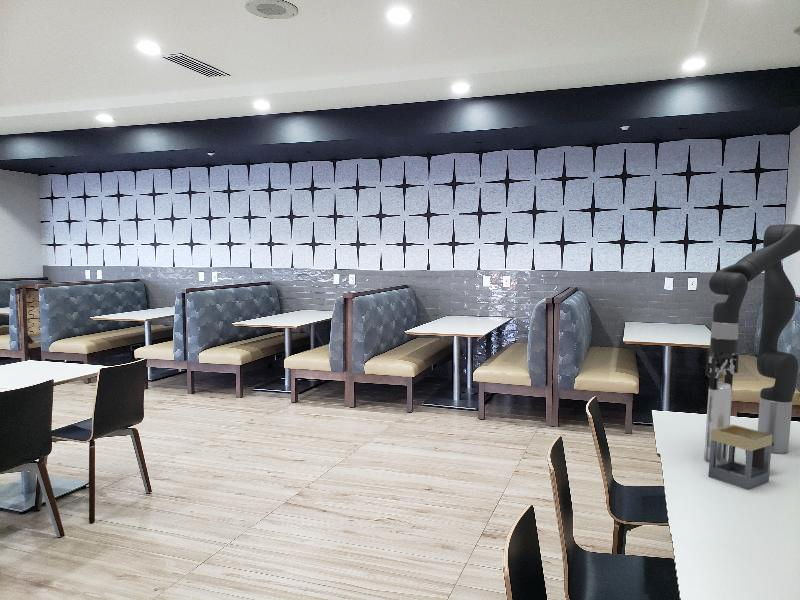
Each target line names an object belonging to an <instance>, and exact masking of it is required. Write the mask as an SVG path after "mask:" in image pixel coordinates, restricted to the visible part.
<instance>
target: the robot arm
mask: <svg viewBox="0 0 800 600" xmlns="http://www.w3.org/2000/svg"><path fill="white" fill-rule="evenodd" d="M762 241H763V243H762V244H763V246H762V248H760V249H756V250H754V251H751V252H750V253H748V254H745V256H743V257H742V258H740V260H738V261H737V262H735V263H733V264H731V265H728V266H726V267H724V268H722V269H720V270H719V269H718V270H717V271H716V272H714V273H713V274H712V275H711V277H710V279H709V282H708V286H709V287H708V288H709V289H710V291H711V292H712V293H714V295H715V294H716V295H721V296H728V297H727V298H726V300H725V301H723V302H717V303H715V304H714V306H713V313H712V314H713V315H712V324H711V330H710V339H709V340H710V341H709V351H711V352H713V355H712V356H709V355H708V356H706V361H705V363H706V364H705V370H704V375H705V376H708V378H709V382H708V383H709V384H708V390H709V389H711V390H717V384H718V382H719V378H718V377H719V375H720V374H721V373H722V372H723V371H724V373H725V374H724V380H723V381H724V382H723V383H727V384H730V385H731V387H732V388H733V383H734V382H733V381H734V376H735V374H738V373H739V372H738V371H739V354H738V343H739V331H740V330H739V318H740V310H741V306H742V304H743V301H744V299H745V295H746V293H747V290H748V288H749V287H748V285H749V282H751V281H753V280H754V279H755V278H757V277H758V276H759V275H760V274H762V273H764V275H763V277H764V278H763V279H764V280H763V281H764V282H763V293H762V307H761V308H762V313H761V314H762V315H761V316H762V317H761V329H760V331H761V332H760V338H759V344H758V349H757V356H756V369H757V372H758V373H759V374H760V375H761V376H762V377H766V378H771V379H775V381H774V384H773V385H772V386H770V387H769V386H768V387H764V388H762V389H760V392H759V393H760V394H759V397H760V398H759V406H758V407H759V409H758V418H757V419H758V422H757V423H758V425H757V431H761V432H764V433H768V434H772V442H773V443H774V446H772V450H771V454H772V453H774V454H787V453H788V452H789V445H790V436H791V435H790V434H791V425H792V423H791V421H792V408H793V399H794V395H795V392H796V389H797V388H796V387H797V380H798V375H799V374H798V373H799V360H798V358H797V356H796V355H795V354H793V353H789V352H784V351H779V350H778V346H779V339H780V336H781V334H782V332H783V331H784V329H785V328H786V327H787V325H788V324H789V323H790V321H791V320H792V319H793V317H794V314H795V312H796V298H797V297H796V296H797V295H796V290H795V288H794V286H793V284H792V282H791V280H790V279H789V277H788V276H787V274H786V272H785V271H784V267H783V263H782V260H785V259H787V258H789V257H790V256H792V255H794V254H797V253H798V252H800V224H798V223H797V224H795V223H794V224H793V223H790V224H784V223H783V224H770V225H769V226H768V227H767V228H766V229H765V231H764V234H763V240H762Z"/></svg>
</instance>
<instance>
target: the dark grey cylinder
mask: <svg viewBox="0 0 800 600" xmlns="http://www.w3.org/2000/svg"><path fill="white" fill-rule="evenodd" d="M772 446H774V443H773V442H772ZM771 450H772V447H771ZM764 453H765V447H763V448H759V449H756V450H753V458H752V467H755V468H759V469H762V470H763V466H764Z"/></svg>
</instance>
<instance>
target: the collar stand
mask: <svg viewBox="0 0 800 600" xmlns="http://www.w3.org/2000/svg"><path fill="white" fill-rule="evenodd" d="M717 442H720V443H724V444H727V445H728V457H727V461H725V462H722V463H719V464H716V450H717ZM763 447H765V453H764V466H763V470H762V469H759V468H755V467H752V458H753V450H756V449H759V448H763ZM771 447H772V434H768V433H764V432H761V431H758V429H752V428H748V427H745V426H741V425H737V424H733V423H732V424H730V425H729V426H725V427H721V428H717V429H713V430H712V431H711V445H710V460H709V463H708V464H709V465H708V477H709V478H713V479H715V480H718V481H721V482H724V483H727V484H729V483H730V485H733V486H736V487H739V488H741V489H744V490H751V489H754V488H757V487H758V486H761V485H764V484H767V483H769V482H770V471H771V459H772V452H771ZM736 448H738V449H741V450H745V460H744V461H745V463H741V462H739V461H735V454H736ZM731 471H732V472H731Z"/></svg>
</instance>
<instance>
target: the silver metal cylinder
mask: <svg viewBox="0 0 800 600" xmlns="http://www.w3.org/2000/svg"><path fill="white" fill-rule="evenodd" d="M732 396H733V386H732V387H731V385H730V384H727V383H724V382H722V381H718V384H717V390H711V389H709V388H708V395H707V407H706V409H707V411H706V425H705V439H704V440H705V441H704V455H703V457H704V458H703V461H705V462H706V463H708V464H709V460H710V445H711V431H712V430H713V429H717V428H721V427H725V426H729V425H731V411H732V401H733V397H732ZM728 455H729V445H727V444H724V443H720V442H717V450H716V464H719V463H722V462H725V461H728Z"/></svg>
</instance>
